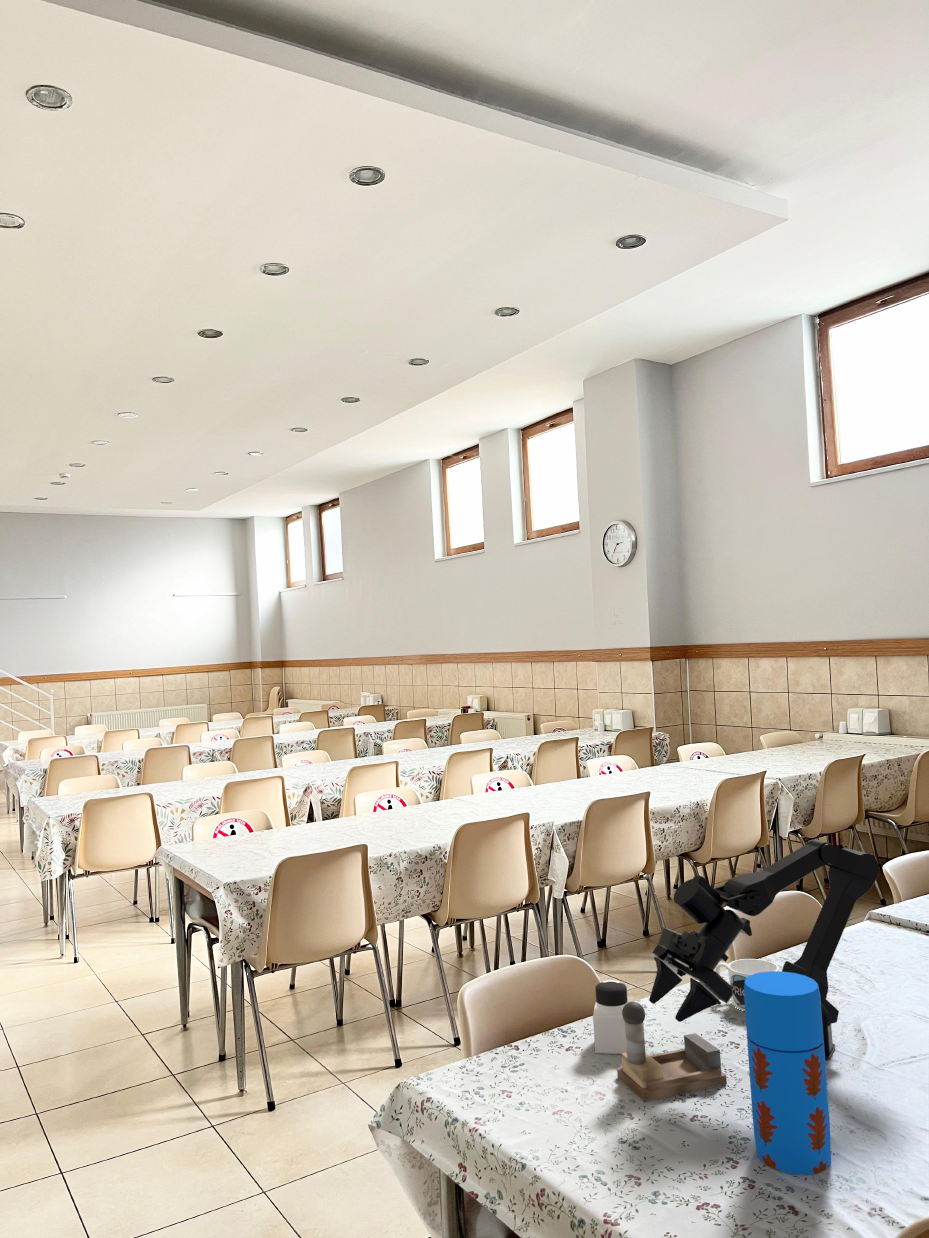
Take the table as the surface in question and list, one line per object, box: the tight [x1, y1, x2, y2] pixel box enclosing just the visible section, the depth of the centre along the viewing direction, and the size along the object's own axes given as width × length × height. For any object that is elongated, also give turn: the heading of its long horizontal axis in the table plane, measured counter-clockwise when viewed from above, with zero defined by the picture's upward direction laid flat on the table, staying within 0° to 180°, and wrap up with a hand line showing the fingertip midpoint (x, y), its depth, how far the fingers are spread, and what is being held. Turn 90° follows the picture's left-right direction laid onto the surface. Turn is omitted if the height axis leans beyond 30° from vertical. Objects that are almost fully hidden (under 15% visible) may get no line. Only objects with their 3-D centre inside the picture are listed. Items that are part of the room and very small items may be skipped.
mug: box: [715, 958, 780, 1012], centre depth 193 cm, size 13×10×8 cm
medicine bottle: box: [592, 979, 629, 1055], centre depth 175 cm, size 7×7×12 cm
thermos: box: [744, 971, 832, 1176], centre depth 134 cm, size 11×11×25 cm
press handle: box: [621, 1001, 664, 1089], centre depth 158 cm, size 5×8×13 cm, turn 17°
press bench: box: [616, 1032, 728, 1103], centre depth 159 cm, size 16×10×6 cm, turn 107°
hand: (663, 1010), depth 160 cm, fingers open, 9 cm apart
